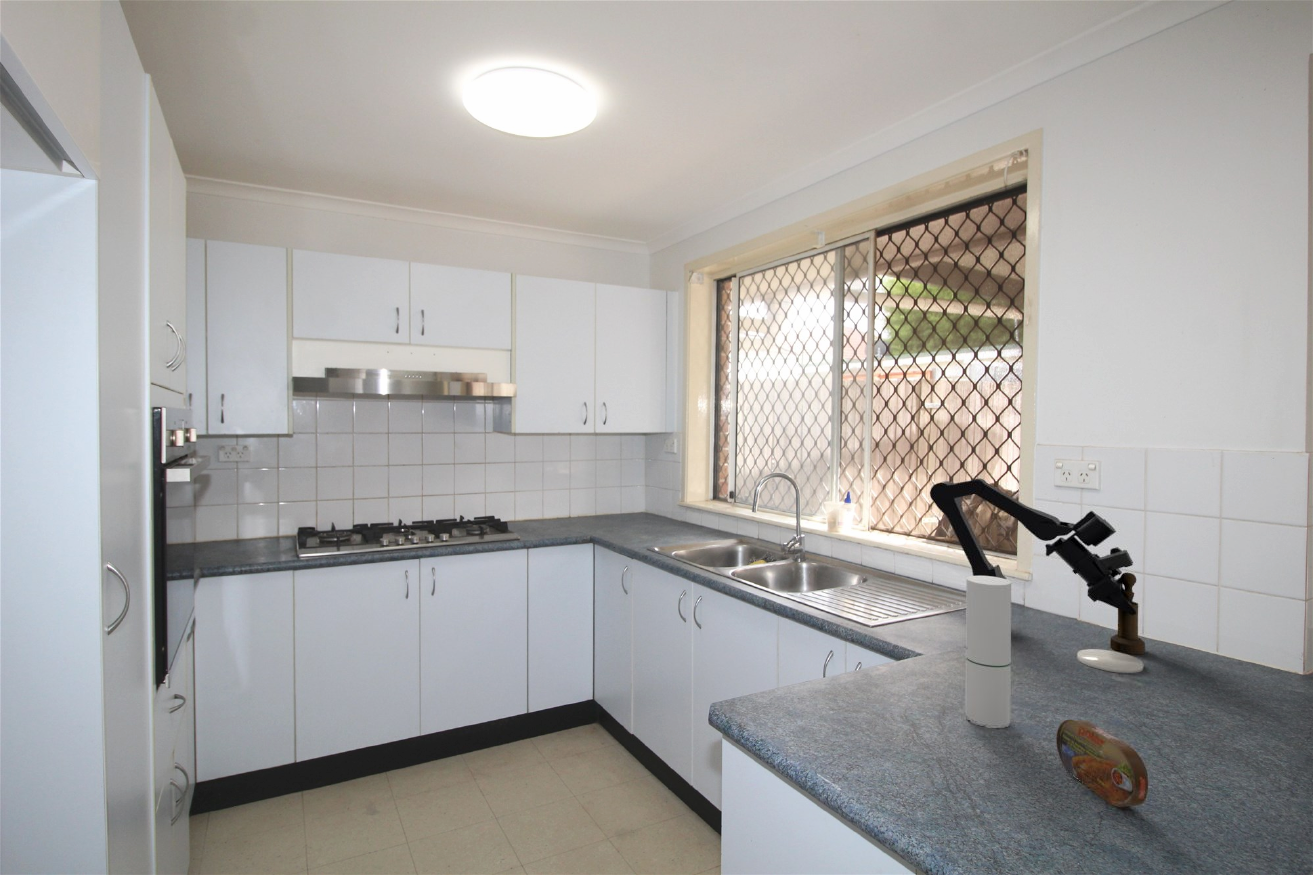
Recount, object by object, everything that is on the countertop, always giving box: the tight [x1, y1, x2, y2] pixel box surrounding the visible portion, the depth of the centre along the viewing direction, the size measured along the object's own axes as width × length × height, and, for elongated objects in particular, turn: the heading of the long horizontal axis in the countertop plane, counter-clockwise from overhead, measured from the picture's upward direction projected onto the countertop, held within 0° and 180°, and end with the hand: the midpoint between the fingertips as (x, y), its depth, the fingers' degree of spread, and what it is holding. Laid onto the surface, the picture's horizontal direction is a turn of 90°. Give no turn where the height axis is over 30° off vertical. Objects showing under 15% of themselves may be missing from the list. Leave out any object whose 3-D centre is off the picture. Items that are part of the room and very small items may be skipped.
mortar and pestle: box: [1109, 572, 1146, 655], centre depth 155 cm, size 7×6×18 cm
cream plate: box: [1076, 648, 1144, 674], centre depth 147 cm, size 12×12×1 cm
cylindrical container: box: [964, 575, 1012, 726], centre depth 119 cm, size 7×7×25 cm
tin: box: [1055, 719, 1149, 808], centre depth 96 cm, size 15×3×8 cm, turn 5°
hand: (1135, 612), depth 154 cm, fingers closed on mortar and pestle, 4 cm apart
